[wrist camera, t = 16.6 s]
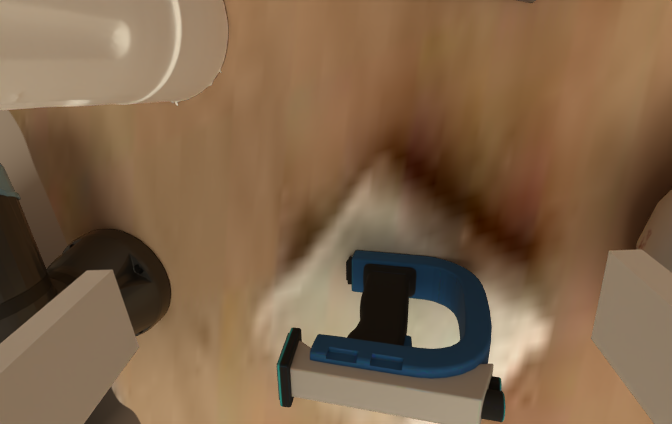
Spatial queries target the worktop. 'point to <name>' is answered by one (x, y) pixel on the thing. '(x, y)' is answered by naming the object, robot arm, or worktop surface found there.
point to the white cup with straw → (108, 51)
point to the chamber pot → (659, 233)
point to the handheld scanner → (400, 347)
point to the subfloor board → (527, 1)
